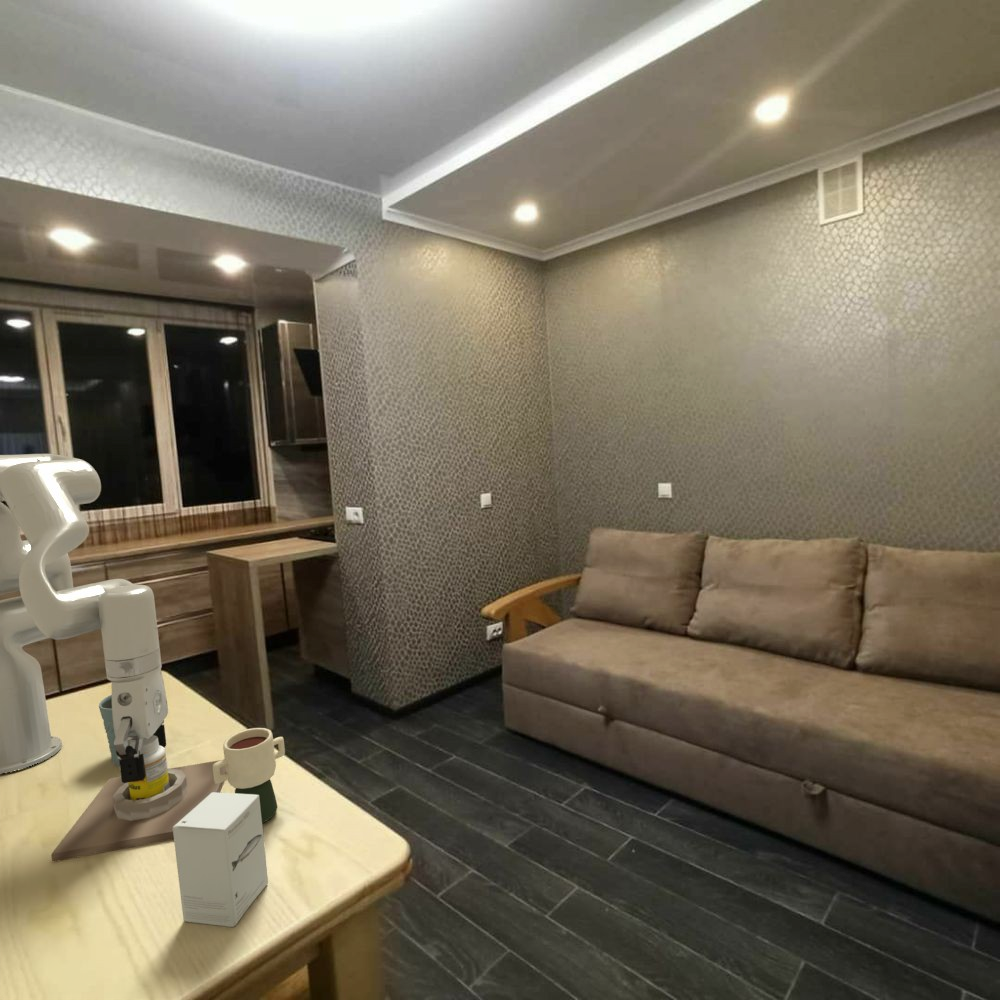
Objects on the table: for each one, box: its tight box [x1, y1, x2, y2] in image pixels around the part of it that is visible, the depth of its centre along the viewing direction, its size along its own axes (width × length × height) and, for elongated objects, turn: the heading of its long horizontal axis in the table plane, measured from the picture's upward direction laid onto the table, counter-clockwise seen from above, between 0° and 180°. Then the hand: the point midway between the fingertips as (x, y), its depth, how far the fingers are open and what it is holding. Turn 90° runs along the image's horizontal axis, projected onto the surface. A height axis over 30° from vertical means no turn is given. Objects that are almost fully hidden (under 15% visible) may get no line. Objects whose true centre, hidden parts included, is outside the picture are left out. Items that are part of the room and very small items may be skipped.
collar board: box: [50, 759, 226, 862], centre depth 96 cm, size 20×20×4 cm
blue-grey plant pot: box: [98, 694, 163, 767], centre depth 113 cm, size 10×10×12 cm
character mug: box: [213, 727, 286, 824], centre depth 91 cm, size 11×7×13 cm, turn 134°
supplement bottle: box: [128, 735, 170, 801], centre depth 96 cm, size 6×6×10 cm
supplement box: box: [173, 792, 269, 928], centre depth 74 cm, size 7×7×13 cm
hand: (145, 763), depth 96 cm, fingers open, 9 cm apart
